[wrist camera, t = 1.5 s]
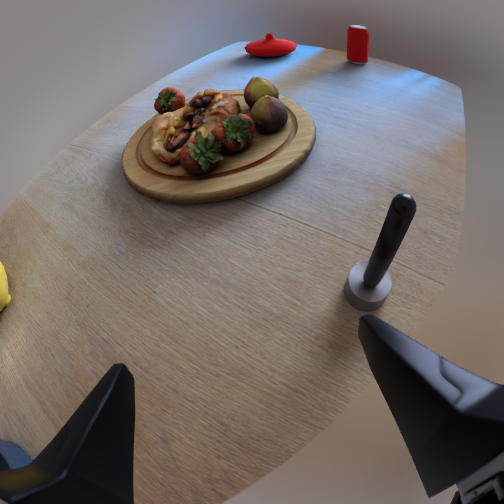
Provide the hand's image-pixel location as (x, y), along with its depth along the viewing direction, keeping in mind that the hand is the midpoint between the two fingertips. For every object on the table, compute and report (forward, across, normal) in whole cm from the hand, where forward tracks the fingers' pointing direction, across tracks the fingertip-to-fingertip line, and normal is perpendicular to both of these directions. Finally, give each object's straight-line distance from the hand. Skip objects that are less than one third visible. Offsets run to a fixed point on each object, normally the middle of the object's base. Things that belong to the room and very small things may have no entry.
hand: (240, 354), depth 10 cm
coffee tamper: (+13, -12, +10) cm, 20 cm away
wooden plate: (+41, 0, -3) cm, 41 cm away
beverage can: (+72, -43, -18) cm, 86 cm away
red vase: (+83, -21, -24) cm, 89 cm away
